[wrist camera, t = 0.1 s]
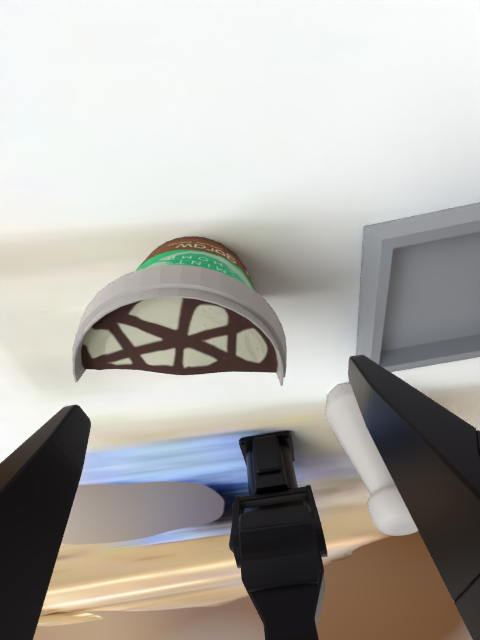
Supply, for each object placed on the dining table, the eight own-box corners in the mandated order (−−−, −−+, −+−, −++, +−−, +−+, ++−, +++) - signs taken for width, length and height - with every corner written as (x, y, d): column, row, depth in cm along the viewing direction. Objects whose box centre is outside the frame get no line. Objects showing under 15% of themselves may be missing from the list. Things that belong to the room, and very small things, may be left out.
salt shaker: (378, 397, 33) (454, 530, 22) (332, 417, 34) (382, 550, 24) (359, 368, 30) (437, 504, 19) (311, 391, 31) (357, 528, 21)
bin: (490, 330, 28) (516, 350, 25) (356, 354, 29) (369, 375, 26) (545, 189, 20) (589, 197, 18) (363, 226, 21) (382, 239, 19)
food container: (279, 225, 21) (316, 290, 13) (268, 298, 24) (291, 385, 16) (106, 214, 20) (24, 277, 12) (120, 291, 23) (64, 382, 15)
